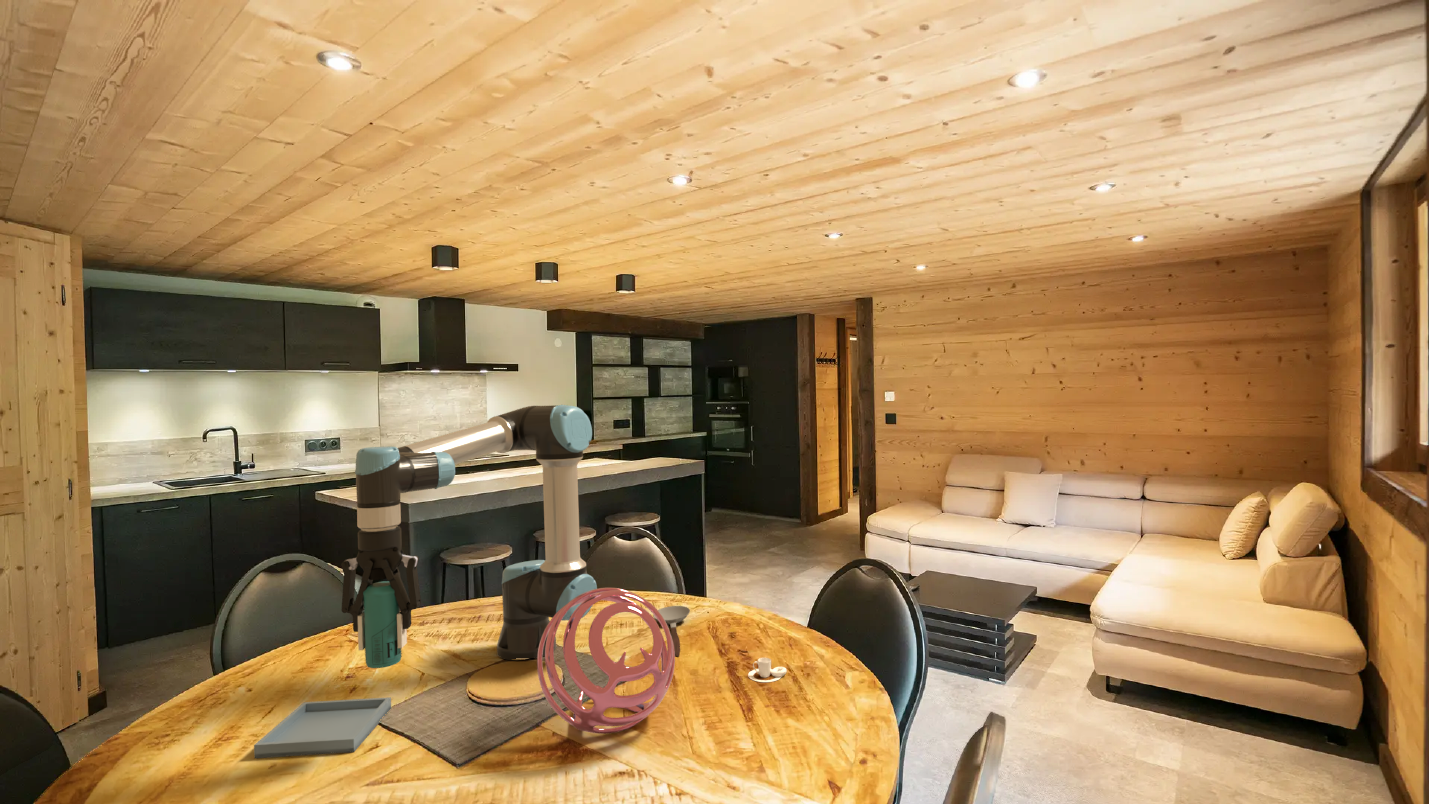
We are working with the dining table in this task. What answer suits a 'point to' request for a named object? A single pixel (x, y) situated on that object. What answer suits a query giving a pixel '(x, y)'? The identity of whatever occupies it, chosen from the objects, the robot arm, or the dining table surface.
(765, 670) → the teacup and saucer
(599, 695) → the pink openwork sphere
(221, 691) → the dining table surface
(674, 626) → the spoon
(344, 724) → the tray
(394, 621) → the beverage bottle
